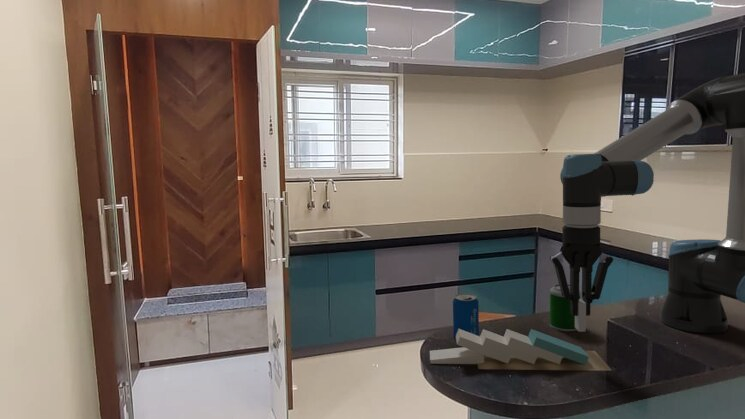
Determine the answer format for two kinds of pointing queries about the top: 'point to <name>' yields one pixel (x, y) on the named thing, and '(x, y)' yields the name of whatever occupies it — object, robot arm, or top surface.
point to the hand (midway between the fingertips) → (580, 329)
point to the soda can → (561, 311)
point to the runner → (547, 364)
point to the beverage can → (465, 314)
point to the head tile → (558, 346)
